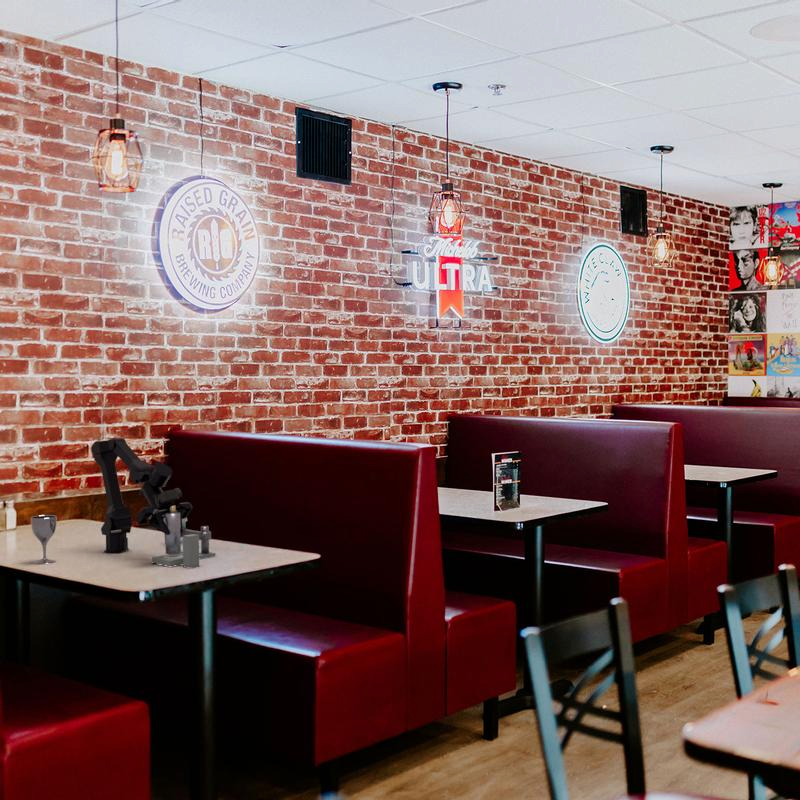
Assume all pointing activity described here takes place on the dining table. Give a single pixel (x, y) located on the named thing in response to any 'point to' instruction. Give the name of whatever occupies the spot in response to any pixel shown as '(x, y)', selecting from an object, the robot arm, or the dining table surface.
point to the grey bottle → (173, 531)
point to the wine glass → (44, 532)
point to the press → (184, 553)
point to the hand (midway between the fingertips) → (175, 533)
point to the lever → (200, 537)
